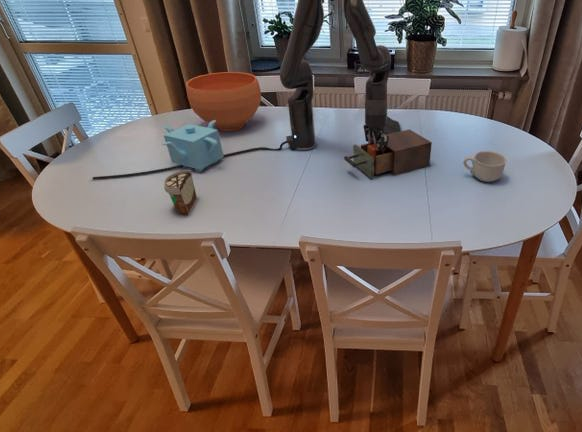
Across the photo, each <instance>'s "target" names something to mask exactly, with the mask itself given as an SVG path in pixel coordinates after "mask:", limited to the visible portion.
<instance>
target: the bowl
mask: <svg viewBox="0 0 582 432" xmlns="http://www.w3.org/2000/svg"><path fill="white" fill-rule="evenodd" d="M185 88H186V95H187V100H188V103H189V106H190V107H191V109H192V111H193V113H194V114H195V115H197V116H198V117H199V118H200V119H201V120H202V121H204V122H206V123H208V124H209V123H210V122H211V121H213V120H216V122H215V123H214V127H217V128H218V129H219V130H220V131H222V132H223V131H224V132H234V131H239V130H241V129H243V128H244V127H245V125H246V123H247V122H249V120H251V119H252V118H253V117H254V116H255V114H256V113H257V111H258V109H259V107H260V105H261V101H262V92H261V91H262V90H261V86H260V83H259V80H258V78H257V77H256V75H254V74H251V73H249V72H241V71H223V72H214V73H207V74H201V75H198V76H195V77H193V78H190V79H189V80H187V81H186V82H185Z"/></svg>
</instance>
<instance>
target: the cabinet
mask: <svg viewBox="0 0 582 432" xmlns="http://www.w3.org/2000/svg"><path fill="white" fill-rule="evenodd" d="M385 136H389V140H388V145H387V149H389V150H390V151H392V152H393V170H391V171H388V172H389V173H390V174H392V175H393V176H396V175H399V174H403V173H408V172H411V171H414V170H418V169H421V168H425V167H429V166H430V165H431V156H432V155H431V153H432V145H433V144H432V141H430V140H428V139H427V138H425V137H424V136H422V135H420V134H419V133H417V132H415V131H413V130H412V129H404V130H401V131H400V132H395V133H391V134H386V135H385ZM378 141H380V140H378ZM378 141H377V142H378Z"/></svg>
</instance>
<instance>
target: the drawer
mask: <svg viewBox="0 0 582 432" xmlns="http://www.w3.org/2000/svg"><path fill="white" fill-rule="evenodd" d="M367 145H368V142H367V143H363V144H360V146H359V145H358V144H353V145H352V153H353V155H349V156H348V155H344V157H343V160H344V161H345V162H347V163H348V164H349V165H350V166H351V167H352V168H354V169H355V168H358V169H359V170H361V171H362V172H363V173H364V174H365V175H366V176H368V177H369V179H373V178H374V175H379V174H383V173H387V172H389V171H391V170H393V152H392V151H390V150H389V149H386V150H384V154H382V155H378V156H375V161H374V158H373V157H372V156H370V155H369V154H368V153H367ZM352 159H353V160H352Z"/></svg>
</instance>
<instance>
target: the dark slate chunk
mask: <svg viewBox="0 0 582 432" xmlns="http://www.w3.org/2000/svg"><path fill="white" fill-rule="evenodd" d="M401 129H402V128H401V125H400V122H399V121H397V120H394V119H392V118H391V117H389V116H388V115H387V124H386V125H385V126H384V134H385V135H386V134H391V133H395V132H400V131H402V130H401Z"/></svg>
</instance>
